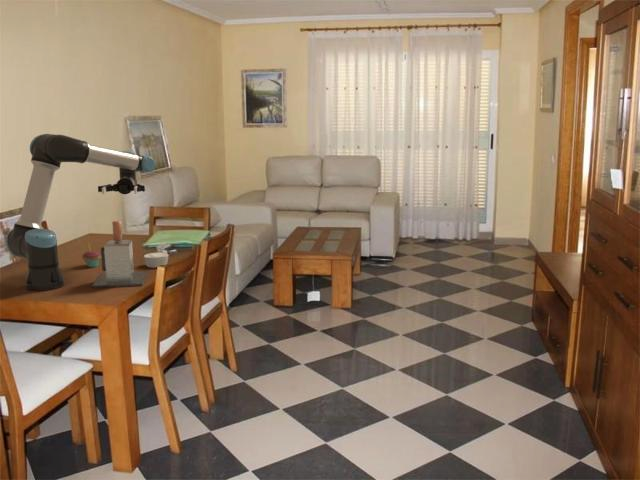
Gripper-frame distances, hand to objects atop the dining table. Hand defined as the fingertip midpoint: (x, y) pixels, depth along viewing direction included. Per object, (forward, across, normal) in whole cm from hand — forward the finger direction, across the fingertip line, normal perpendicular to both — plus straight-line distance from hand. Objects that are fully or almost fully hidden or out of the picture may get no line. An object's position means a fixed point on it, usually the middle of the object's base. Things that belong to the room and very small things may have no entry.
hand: (119, 190), depth 267 cm
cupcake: (-18, +17, -38) cm, 45 cm away
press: (+12, 0, -38) cm, 39 cm away
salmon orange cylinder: (+11, 0, -36) cm, 37 cm away
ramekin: (-14, -13, -38) cm, 42 cm away
